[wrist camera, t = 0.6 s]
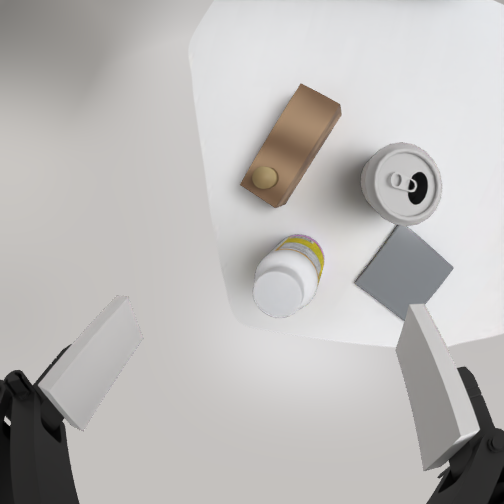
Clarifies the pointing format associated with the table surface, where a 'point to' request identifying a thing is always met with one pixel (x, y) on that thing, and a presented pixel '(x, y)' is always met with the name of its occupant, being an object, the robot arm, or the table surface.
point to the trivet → (404, 272)
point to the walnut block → (291, 146)
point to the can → (402, 184)
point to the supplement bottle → (288, 276)
